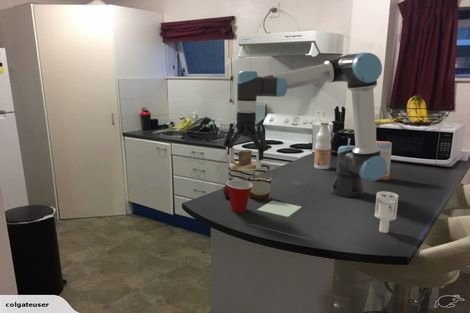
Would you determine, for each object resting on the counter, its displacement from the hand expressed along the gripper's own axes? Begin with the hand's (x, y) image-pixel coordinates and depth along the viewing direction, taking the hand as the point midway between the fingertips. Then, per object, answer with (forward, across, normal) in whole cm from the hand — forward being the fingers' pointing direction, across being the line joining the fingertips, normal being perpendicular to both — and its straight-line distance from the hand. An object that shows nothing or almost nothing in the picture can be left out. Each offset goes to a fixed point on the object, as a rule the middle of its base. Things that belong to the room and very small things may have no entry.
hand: (244, 165), depth 146 cm
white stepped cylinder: (+19, -53, -11) cm, 57 cm away
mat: (+19, -12, -10) cm, 24 cm away
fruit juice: (+19, -1, -93) cm, 95 cm away
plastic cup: (+19, +1, +1) cm, 19 cm away
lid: (+1, 0, 0) cm, 1 cm away
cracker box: (+18, -34, -85) cm, 93 cm away
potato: (+19, +13, -12) cm, 26 cm away
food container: (+19, +2, -19) cm, 27 cm away
